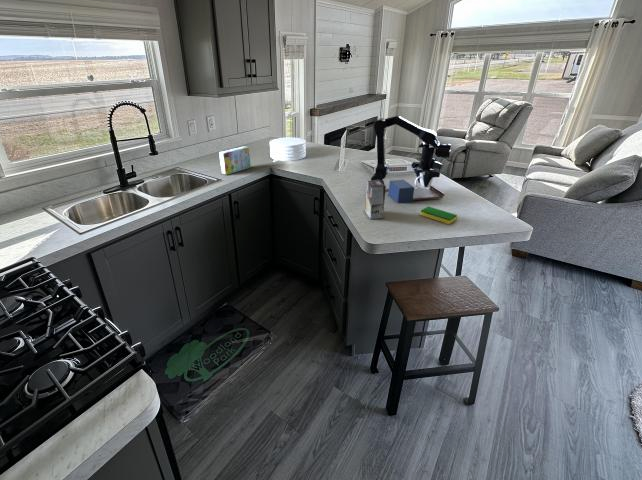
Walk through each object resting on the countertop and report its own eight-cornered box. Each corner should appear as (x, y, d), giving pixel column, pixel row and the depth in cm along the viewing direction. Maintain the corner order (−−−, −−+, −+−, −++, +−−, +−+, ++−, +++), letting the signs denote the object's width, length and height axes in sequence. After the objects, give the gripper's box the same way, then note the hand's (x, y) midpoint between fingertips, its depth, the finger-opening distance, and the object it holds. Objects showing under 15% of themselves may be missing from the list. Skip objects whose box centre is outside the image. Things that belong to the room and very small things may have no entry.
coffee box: (383, 218, 153) (386, 186, 146) (370, 219, 152) (372, 187, 146) (377, 210, 161) (379, 179, 154) (364, 211, 161) (366, 180, 154)
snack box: (246, 166, 234) (244, 145, 228) (250, 167, 231) (249, 146, 225) (221, 173, 221) (218, 151, 215) (225, 175, 217) (223, 153, 211)
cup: (434, 189, 172) (437, 175, 168) (418, 192, 169) (420, 177, 166) (426, 184, 178) (428, 170, 174) (410, 187, 175) (412, 173, 172)
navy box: (398, 203, 168) (399, 188, 165) (387, 194, 180) (389, 180, 176) (443, 199, 170) (446, 185, 167) (430, 190, 182) (432, 177, 179)
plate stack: (273, 151, 272) (273, 137, 267) (307, 151, 268) (307, 137, 264) (267, 160, 247) (266, 145, 242) (304, 160, 243) (303, 145, 238)
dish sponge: (427, 210, 159) (428, 205, 158) (456, 219, 150) (457, 214, 149) (419, 215, 155) (420, 210, 154) (449, 224, 145) (450, 219, 144)
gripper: (452, 160, 159) (447, 190, 165) (432, 150, 176) (428, 178, 182) (431, 161, 158) (426, 191, 164) (412, 151, 175) (409, 179, 181)
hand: (422, 184), depth 173 cm, fingers closed on cup, 6 cm apart
